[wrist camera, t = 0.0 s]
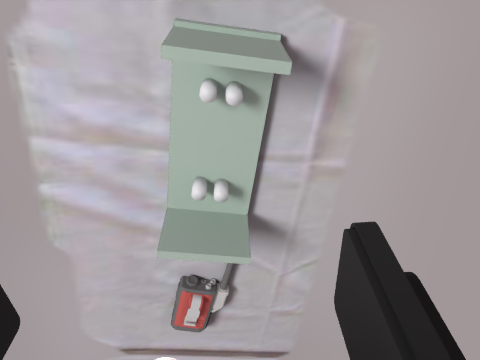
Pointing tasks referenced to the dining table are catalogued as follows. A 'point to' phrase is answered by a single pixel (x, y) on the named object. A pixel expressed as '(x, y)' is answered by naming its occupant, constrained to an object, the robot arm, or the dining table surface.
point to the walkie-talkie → (199, 301)
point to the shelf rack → (215, 136)
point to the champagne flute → (166, 358)
